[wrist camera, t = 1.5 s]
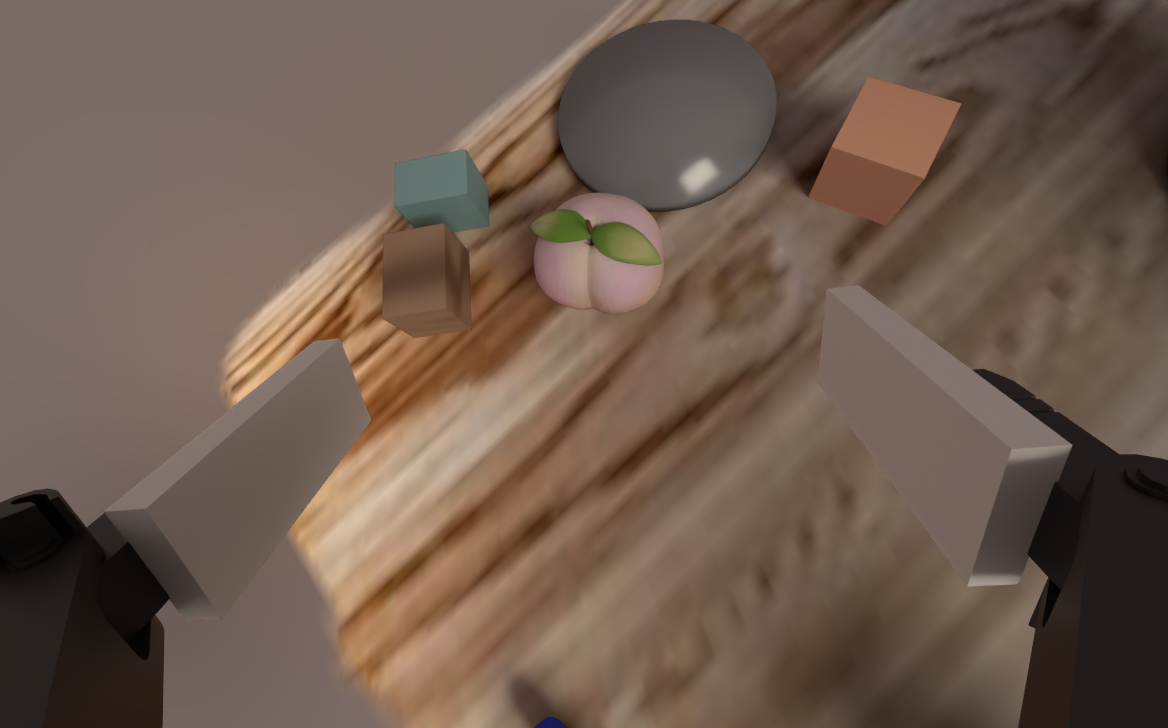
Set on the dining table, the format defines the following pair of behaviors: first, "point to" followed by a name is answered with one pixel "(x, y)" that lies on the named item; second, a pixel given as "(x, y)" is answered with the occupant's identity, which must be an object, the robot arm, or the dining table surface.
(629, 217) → the decorative fruit
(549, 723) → the dice
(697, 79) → the slate plate
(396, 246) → the walnut block
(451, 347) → the dining table surface
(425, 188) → the teal block
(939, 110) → the terracotta block
